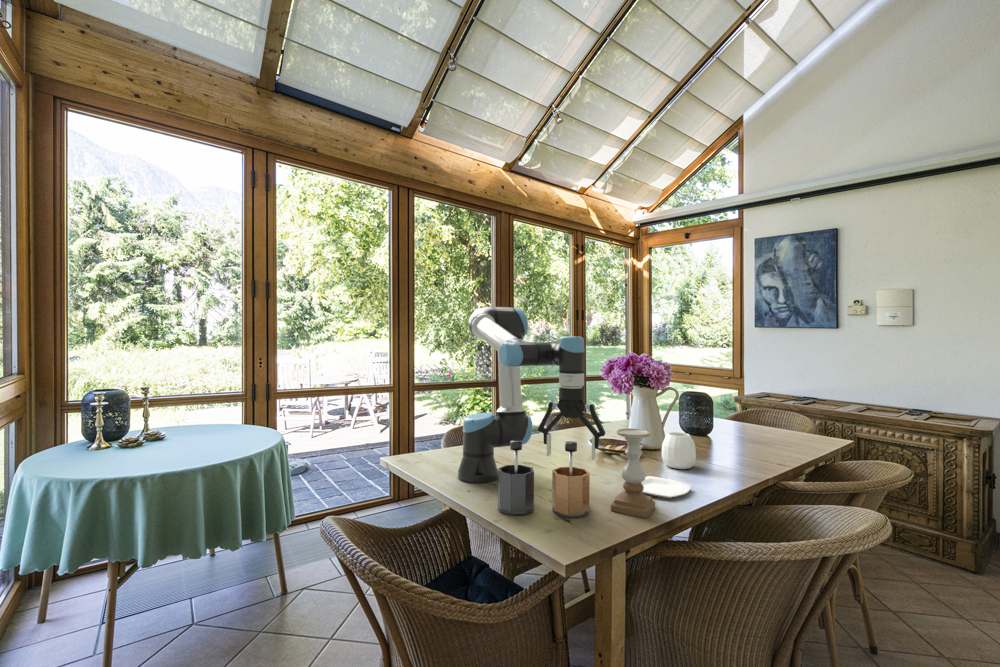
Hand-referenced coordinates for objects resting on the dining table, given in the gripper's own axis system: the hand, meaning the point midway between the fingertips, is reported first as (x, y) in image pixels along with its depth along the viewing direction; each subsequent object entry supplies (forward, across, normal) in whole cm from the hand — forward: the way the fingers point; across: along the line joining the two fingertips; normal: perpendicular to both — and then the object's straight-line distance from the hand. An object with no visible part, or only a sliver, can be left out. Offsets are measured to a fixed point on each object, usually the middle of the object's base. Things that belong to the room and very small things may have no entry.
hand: (570, 457), depth 140 cm
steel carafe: (+16, -16, -2) cm, 23 cm away
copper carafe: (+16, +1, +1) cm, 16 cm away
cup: (+17, +34, +63) cm, 74 cm away
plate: (+17, +26, +30) cm, 43 cm away
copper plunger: (+14, 0, 0) cm, 14 cm away
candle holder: (+17, +18, +8) cm, 26 cm away
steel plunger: (+14, -16, -4) cm, 22 cm away
